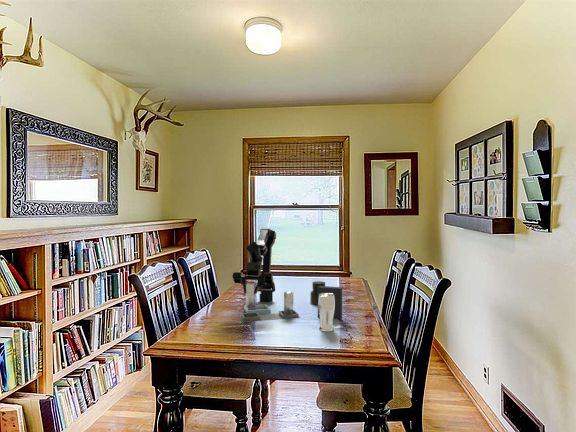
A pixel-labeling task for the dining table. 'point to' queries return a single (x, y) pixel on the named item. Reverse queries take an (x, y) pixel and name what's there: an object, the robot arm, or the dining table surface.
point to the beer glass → (326, 311)
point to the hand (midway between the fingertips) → (249, 293)
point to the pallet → (267, 316)
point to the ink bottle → (315, 292)
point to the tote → (258, 310)
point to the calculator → (338, 299)
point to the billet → (288, 302)
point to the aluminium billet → (250, 295)
